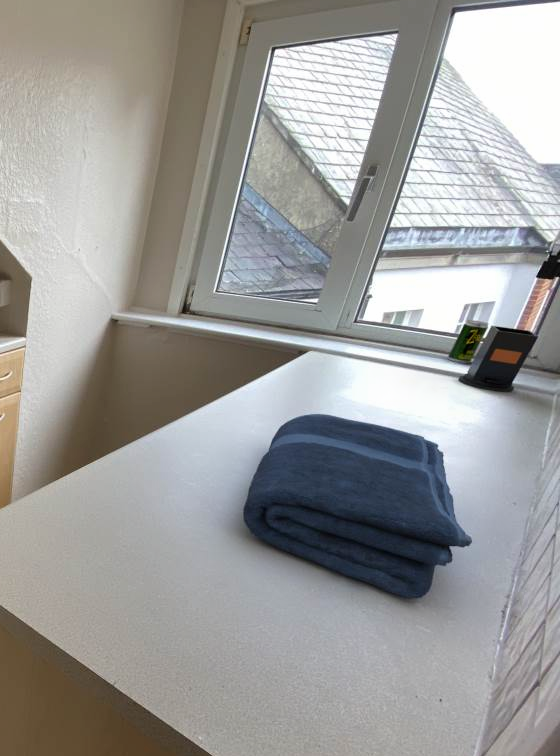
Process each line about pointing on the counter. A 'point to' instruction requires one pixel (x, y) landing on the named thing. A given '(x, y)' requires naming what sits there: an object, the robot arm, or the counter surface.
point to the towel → (356, 501)
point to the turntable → (485, 386)
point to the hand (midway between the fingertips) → (550, 277)
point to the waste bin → (500, 357)
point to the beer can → (468, 341)
